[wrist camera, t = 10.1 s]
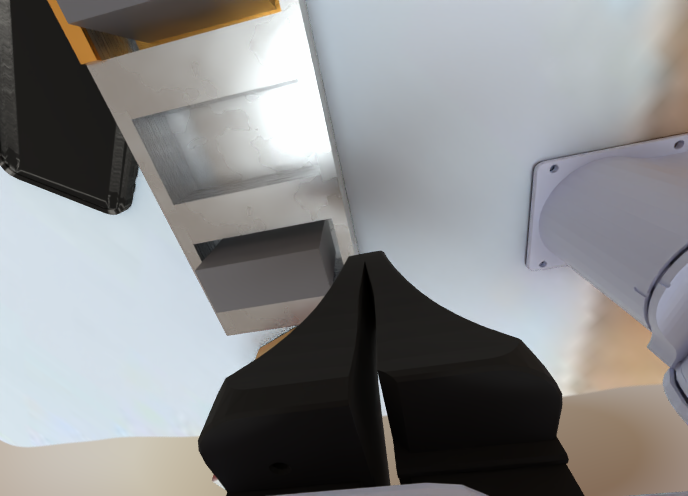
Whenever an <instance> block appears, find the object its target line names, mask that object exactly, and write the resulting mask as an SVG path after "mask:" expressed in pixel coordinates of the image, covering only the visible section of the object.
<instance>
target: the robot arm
mask: <svg viewBox="0 0 688 496" xmlns="http://www.w3.org/2000/svg"><path fill="white" fill-rule="evenodd" d="M677 142H678V143H677ZM675 143H677V145H676V146H675V147H674V145H675ZM552 165H555V167H554V169H553V170H552V171H550V167H551V166H552ZM543 261H544V262H543ZM541 262H543V263H542V264H540V263H541ZM539 264H540V265H539ZM526 266H527V267H528V268H529V269H530V270H531V271H537V270H544V269H550V268H557V267H563V266H569V267H571V268H572V269H573V270H574V271H576V272H577V273H578V274H579V275H581V276H582V277H583V278H584V279H586V280H587V281H588V282H589V283H591V284H592V285H593V286H594V287H596V288H597V289H598V290H600V291H601V292H602V293H603V294H605V295H606V296H607V297H608V298H610V299H611V300H612V301H613V302H615V303H616V304H617V305H618V306H620V307H621V308H622V309H623V310H625V311H626V312H627V313H628V314H630V315H631V316H632V317H633V318H635V319H636V320H637V321H638V322H640V323H641V324H642V325H643V326H645V327H646V328H647V329H648V330H650V331H651V332H652V337H651V340H650V342H649V344H648V345H647V348H648V349H649V350H650V351H652V352H653V353H654V354H655V355H656V356H657V357H659V358H660V359H661V360H662V361H663V362H664V363H666V364H667V365H668V366H669V367H670V368H669V369H668V370H667V372H666V373H665V374H664V379H663V387H664V391H665V394H666V396H667V398H668V400H669V401H670V403H671V405H672V406H673V407H674V409H675V410H676V412H677V413H678V414H679V416H680V417H681V418H682V419H683V420H684V422H685V423H686V424H687V425H688V133H686V134H680V135H675V136H670V137H665V138H660V139H655V140H650V141H645V142H639V143H634V144H629V145H624V146H619V147H614V148H609V149H603V150H598V151H593V152H588V153H583V154H578V155H573V156H568V157H562V158H557V159H552V160H547V161H543V162H540V163H539V164H537V165H536V167H535V169H534V177H533V189H532V201H531V213H530V225H529V237H528V249H527V261H526ZM378 375H379V380H380V384H381V389H382V393H383V397H384V402H385V406H386V411H387V415H388V420H389V424H390V428H391V433H392V437H393V444H394V452H395V461H396V469H397V475H398V478H399V480H400V484H401V485H393V486H390V479H389V470H388V462H387V454H386V446H385V437H384V429H383V422H382V412H381V403H380V395H379V386H378ZM561 409H562V393H561V391H560V389H559V387H558V385H557V383H556V382H555V380H554V379H553V377H552V376H551V374H550V373H549V372H548V370H547V369H546V368H545V366H544V365H543V364H542V363H541V362H540V360H539V359H538V358H537V357H536V356H535V355H534V354H533V353H532V351H531V350H530V349H529V348H528V347H527V346H526V345H525V344H524V343H523V342H522V340H520V339H518V338H515V337H513V336H510V335H507V334H504V333H501V332H498V331H495V330H492V329H489V328H486V327H484V326H481V325H479V324H477V323H474V322H472V321H470V320H467V319H465V318H463V317H461V316H459V315H457V314H455V313H453V312H451V311H449V310H447V309H446V308H444V307H442V306H440V305H439V304H437V303H435V302H434V301H432V300H431V299H430V298H428V297H427V296H425V295H424V294H423V293H421V292H420V291H419V290H418V289H416V288H415V287H414V286H413V285H412V284H411V283H409V282H408V281H407V280H406V279H405V278H404V277H403V276H402V275H401V274H400V273H399V272H398V271H397V270H396V268H395V267H394V266H393V265H392V264H391V262H390V261H389V260H388V258H387V257H386V255H385V253H384V252H382V251H376V252H370V253H364V254H358V255H353V256H349V257H348V258H347V260H346V262H345V264H344V265H343V267H342V269H341V271H340V273H339V275H338V276H337V278H336V280H335V281H334V283H333V284H332V286H331V288H330V289H329V290H328V292H327V293H326V295H325V296H324V297H323V299H322V300H321V302H320V303H319V304H318V305H317V307H316V308H315V309H314V310H313V311H312V312H311V313H310V314H309V316H308V317H307V318H306V319H305V320H304V321H303V322H302V323H300V324H299V325H298V326H297V327H296V328H295V329H294V330H293V331H292V332H291V333H290V334H288V335H287V336H286V337H285V338H284V339H283V340H281V341H280V342H279V343H278V344H276V345H275V346H274V347H272V348H271V349H270V350H268V351H267V352H266V353H264V354H263V355H261V356H260V357H259V358H257V359H256V360H254V361H253V362H251V363H249V364H248V365H246V366H245V367H243V368H242V369H240V370H238V371H237V372H235V373H234V374H232V375H230V376H229V377H227V378H226V379H225V381H224V383H223V385H222V387H221V389H220V391H219V393H218V395H217V397H216V399H215V401H214V404H213V406H212V409H211V411H210V413H209V416H208V418H207V420H206V423H205V425H204V427H203V430H202V432H201V434H200V437H199V439H198V445H199V446H198V447H199V452H200V454H201V456H202V457H203V460H204V461H205V463H206V465H207V466H208V467H209V469H210V470H211V471H212V473H213V474H214V475H215V476H216V478H217V479H218V480H219V482H220V483H221V484H222V486H223V487H224V488H225V490H226V491H227V495H226V496H584V494H583V492H582V491H581V489H580V487H579V485H578V484H577V482H576V481H575V479H574V477H573V475H572V473H571V472H570V470H569V469H568V466H567V465H566V463H568V460H569V459H568V456H567V453H566V452H565V450H564V448H563V447H562V445H561V443H560V442H559V440H558V438H557V437H556V435H557V429H558V425H559V419H560V414H561ZM633 496H688V491H686V492H674V493H659V494H646V495H633Z"/></svg>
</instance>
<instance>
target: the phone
mask: <svg viewBox="0 0 688 496" xmlns="http://www.w3.org/2000/svg"><path fill="white" fill-rule="evenodd" d="M0 166H1V167H2V168H3V169H4V170H5V171H6V172H7V173H8V174H10V175H11V176H13V177H15V178H17V179H19V180H22V181H24V182H27V183H29V184H32V185H35V186H37V187H40V188H42V189H45V190H47V191H50V192H52V193H55V194H58V195H60V196H63V197H65V198H68V199H70V200H73V201H75V202H78V203H80V204H83V205H86V206H88V207H91V208H93V209H96V210H98V211H101V212H103V213H106V214H110V215H116V214H119V213H121V212H123V211H125V210H127V209H128V208H129V207H130V206H131V204H132V200H133V193H134V187H135V180H136V175H137V169H138V163H137V161H136V160H135V158H134V156H133V154H132V152H131V150H130V148H129V146H128V144H127V142H126V140H125V138H124V136H123V135H122V133H121V131H120V129H119V127H118V125H117V123H116V121H115V119H114V117H113V115H112V113H111V111H110V109H109V108H108V106H107V104H106V102H105V100H104V98H103V96H102V94H101V92H100V90H99V88H98V86H97V84H96V83H95V81H94V79H93V77H92V75H91V73H90V71H89V69H88V67H87V65H81V63H80V61H79V60H78V58H77V56H76V54H75V52H74V50H73V48H72V46H71V44H70V42H69V40H68V39H67V37H66V35H65V33H64V31H63V29H62V27H61V25H60V23H59V21H58V20H57V18H56V16H55V14H54V12H53V10H52V8H51V6H50V4H49V2H48V1H47V0H0Z"/></svg>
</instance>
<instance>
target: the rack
mask: <svg viewBox="0 0 688 496" xmlns="http://www.w3.org/2000/svg"><path fill="white" fill-rule="evenodd" d="M47 1H48V2H49V4H50V6H51V8H52V10H53V12H54V14H55V16H56V18H57V20H58V21H59V23H60V25H61V27H62V29H63V31H64V33H65V35H66V37H67V39H68V40H69V42H70V44H71V46H72V48H73V50H74V52H75V54H76V56H77V58H78V60H79V61H80V63H81V65H87V67H88V69H89V71H90V73H91V75H92V77H93V79H94V81H95V83H96V84H97V86H98V88H99V90H100V92H101V94H102V96H103V98H104V100H105V102H106V104H107V106H108V108H109V109H110V111H111V113H112V115H113V117H114V119H115V121H116V123H117V125H118V127H119V129H120V131H121V133H122V135H123V136H124V138H125V140H126V142H127V144H128V146H129V148H130V150H131V152H132V154H133V156H134V158H135V160H136V161H137V163H138V165H139V167H140V169H141V171H142V173H143V175H144V177H145V179H146V181H147V183H148V185H149V187H150V188H151V190H152V192H153V194H154V196H155V198H156V200H157V202H158V204H159V206H160V208H161V210H162V212H163V213H164V215H165V217H166V219H167V221H168V223H169V225H170V227H171V229H172V231H173V233H174V235H175V237H176V238H177V240H178V242H179V244H180V246H181V248H182V250H183V252H184V254H185V256H186V258H187V260H188V262H189V264H190V265H191V267H192V269H193V271H194V273H195V275H196V277H197V279H198V281H199V283H200V285H201V287H202V289H203V290H204V288H203V286H202V284H201V282H200V280H199V278H198V276H197V274H196V272H195V270H196V268H197V267H198V266H199V265H200V264H201V263H202V262H203V260H204V259H205V258H206V257H207V256H208V255H209V253H210V252H211V251H212V250H213V249H214V248H215V247H216V245H217V244H218V243H219V242H220V241H221V240H222V239H224V238H229V237H235V236H240V235H245V234H251V233H256V232H261V231H266V230H272V229H277V228H282V227H288V226H293V225H298V224H304V223H309V222H314V221H319V220H325V219H328V223H329V227H330V231H331V235H332V239H333V243H334V247H335V251H336V256H335V267H334V277H333V283H334V281H335V280H336V278H337V276H338V275H339V273H340V271H341V269H342V267H343V265H344V264H345V262H346V260H347V258H348V257H349V256H353V255H358V254H359V251H358V246H357V241H356V236H355V232H354V227H353V222H352V218H351V213H350V208H349V203H348V199H347V194H346V189H345V184H344V180H343V175H342V170H341V166H340V161H339V156H338V151H337V147H336V142H335V137H334V133H333V128H332V123H331V118H330V114H329V109H328V104H327V100H326V95H325V90H324V85H323V81H322V76H321V71H320V66H319V62H318V57H317V52H316V48H315V43H314V38H313V33H312V29H311V24H310V19H309V15H308V10H307V5H306V0H275V5H276V10H272V11H268V12H264V13H260V14H257V15H253V16H249V17H245V18H242V19H238V20H234V21H230V22H226V23H223V24H219V25H215V26H211V27H208V28H204V29H200V30H196V31H193V32H189V33H185V34H181V35H177V36H174V37H170V38H166V39H162V40H159V41H155V42H151V43H146V42H142V41H137V40H133V39H129V38H125V37H121V36H117V35H112V34H108V33H104V32H100V31H96V30H92V29H87V28H83V27H79V26H75V25H71V24H68V22H67V20H66V18H65V16H64V14H63V13H62V11H61V9H60V7H59V5H58V3H57V1H56V0H47ZM204 292H205V290H204ZM205 294H206V292H205ZM206 296H207V294H206ZM323 297H324V296H320V297H314V298H308V299H301V300H295V301H289V302H283V303H276V304H270V305H264V306H257V307H251V308H245V309H239V310H232V311H226V312H220V313H216V311H215V309H214V307H213V305H212V303H211V302H210V300H209V298H208V296H207V298H208V300H209V302H210V304H211V306H212V308H213V310H214V312H215V314H216V315H217V317H218V319H219V321H220V323H221V325H222V327H223V329H224V331H225V333H226V335H227V336H229V335H235V334H242V333H249V332H255V331H262V330H269V329H276V328H282V327H289V326H296V325H299V324H300V323H302V322H303V321H304V320H305V319H306V318H307V317H308V316H309V314H310V313H311V312H312V311H313V310H314V309H315V308H316V307H317V305H318V304H319V303H320V302H321V300H322V299H323Z"/></svg>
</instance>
